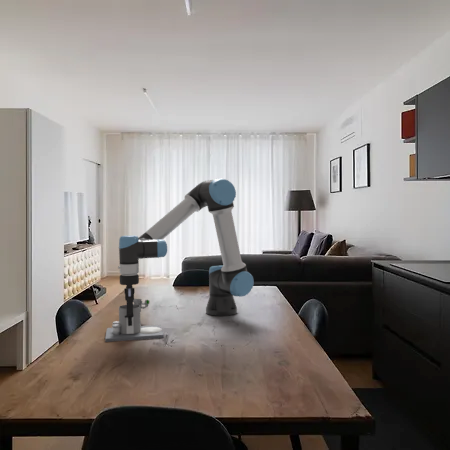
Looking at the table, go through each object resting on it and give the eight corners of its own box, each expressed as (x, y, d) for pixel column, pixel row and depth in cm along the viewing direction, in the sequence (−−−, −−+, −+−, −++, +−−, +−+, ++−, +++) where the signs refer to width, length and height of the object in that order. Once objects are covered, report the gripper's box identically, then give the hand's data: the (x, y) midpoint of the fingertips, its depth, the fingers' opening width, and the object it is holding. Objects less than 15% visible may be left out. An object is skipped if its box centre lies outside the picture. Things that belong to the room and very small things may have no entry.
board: (160, 327, 187) (160, 316, 187) (163, 337, 171) (163, 325, 171) (107, 330, 182) (106, 319, 182) (105, 341, 167) (105, 329, 167)
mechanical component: (147, 322, 195) (147, 300, 195) (126, 321, 197) (126, 299, 197) (150, 321, 198) (150, 299, 198) (129, 320, 200) (128, 298, 200)
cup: (121, 328, 180) (120, 304, 180) (141, 328, 181) (141, 304, 181) (117, 334, 172) (117, 309, 172) (139, 333, 173) (138, 308, 172)
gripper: (120, 271, 185) (120, 324, 186) (119, 278, 165) (120, 338, 165) (138, 270, 187) (138, 323, 188) (139, 277, 166) (140, 337, 167)
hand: (130, 330), depth 177 cm, fingers closed on cup, 8 cm apart
